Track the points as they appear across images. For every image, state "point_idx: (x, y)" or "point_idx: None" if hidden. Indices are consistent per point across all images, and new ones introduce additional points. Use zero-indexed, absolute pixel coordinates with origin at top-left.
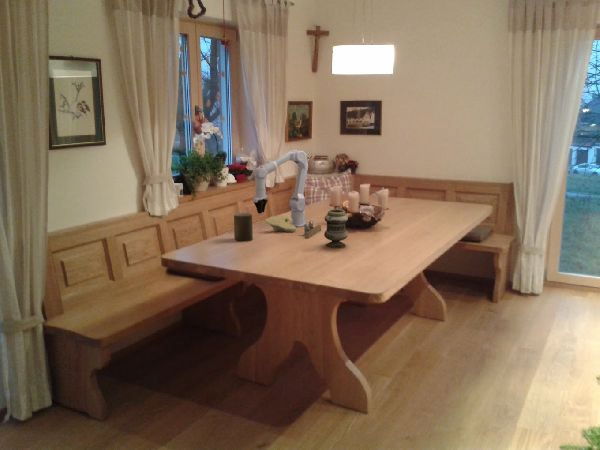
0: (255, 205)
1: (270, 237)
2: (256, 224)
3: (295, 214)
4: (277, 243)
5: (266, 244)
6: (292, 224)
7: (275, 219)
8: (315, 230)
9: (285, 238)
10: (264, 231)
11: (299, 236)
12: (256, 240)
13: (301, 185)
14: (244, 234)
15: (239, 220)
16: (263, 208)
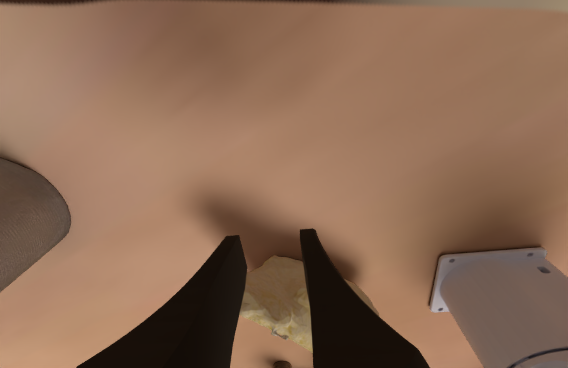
0: (146, 322)
1: (158, 285)
2: (453, 11)
3: (482, 357)
4: (101, 341)
5: (54, 320)
6: (450, 275)
7: (266, 326)
8: None
9: None
10: (250, 203)
11: (249, 356)
12: (63, 263)
13: None
14: None
15: None
16: (309, 301)
